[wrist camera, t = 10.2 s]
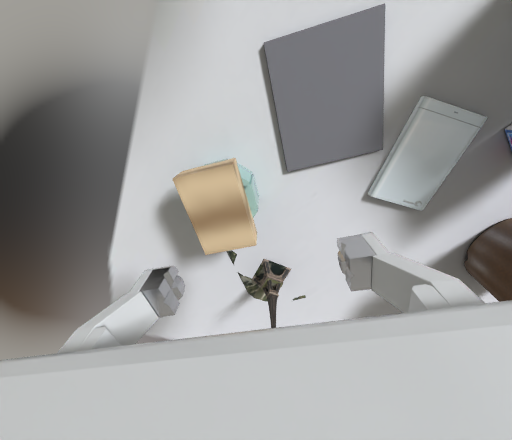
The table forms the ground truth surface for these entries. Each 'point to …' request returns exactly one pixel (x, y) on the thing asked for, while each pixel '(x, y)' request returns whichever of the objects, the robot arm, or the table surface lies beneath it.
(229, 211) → the lid
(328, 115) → the mat
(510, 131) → the ink cartridge box
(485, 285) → the plant pot
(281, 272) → the eiffel tower figurine
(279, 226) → the table surface
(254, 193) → the bowl
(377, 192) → the hard drive
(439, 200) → the table surface
